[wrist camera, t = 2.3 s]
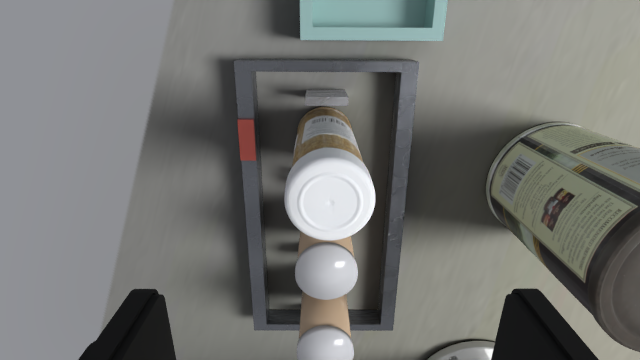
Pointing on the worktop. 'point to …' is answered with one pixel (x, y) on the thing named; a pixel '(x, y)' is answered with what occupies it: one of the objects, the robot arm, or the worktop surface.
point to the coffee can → (577, 216)
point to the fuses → (325, 298)
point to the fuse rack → (395, 184)
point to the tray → (373, 20)
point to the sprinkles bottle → (328, 178)
